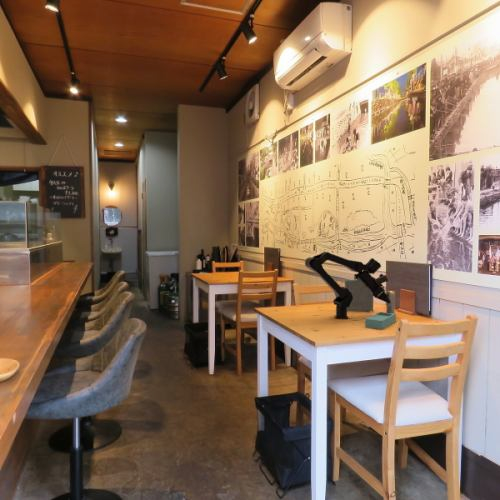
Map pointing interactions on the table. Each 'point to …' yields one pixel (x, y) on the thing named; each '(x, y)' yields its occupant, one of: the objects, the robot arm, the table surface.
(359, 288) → the dark grey upright panel
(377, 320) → the bar
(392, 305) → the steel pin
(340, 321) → the table surface
